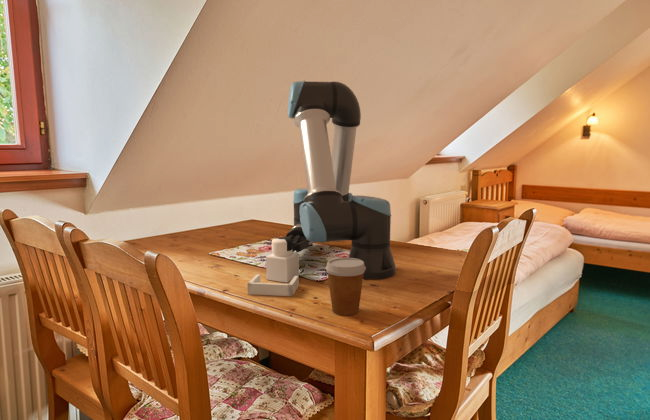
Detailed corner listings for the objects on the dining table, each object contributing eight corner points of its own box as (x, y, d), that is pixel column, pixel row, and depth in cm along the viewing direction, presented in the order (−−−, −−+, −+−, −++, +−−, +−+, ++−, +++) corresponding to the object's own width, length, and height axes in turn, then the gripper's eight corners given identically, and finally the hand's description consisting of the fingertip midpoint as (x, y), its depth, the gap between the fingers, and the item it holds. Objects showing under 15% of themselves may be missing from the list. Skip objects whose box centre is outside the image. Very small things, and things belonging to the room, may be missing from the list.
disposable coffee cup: (348, 321, 110) (348, 270, 108) (317, 311, 116) (317, 262, 114) (373, 310, 117) (374, 261, 115) (342, 301, 123) (343, 255, 121)
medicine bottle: (279, 273, 147) (278, 234, 146) (299, 276, 144) (298, 237, 142) (265, 280, 141) (264, 239, 139) (287, 283, 138) (286, 241, 136)
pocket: (298, 286, 135) (298, 275, 135) (292, 296, 127) (291, 285, 126) (257, 284, 137) (256, 274, 137) (247, 294, 129) (247, 283, 128)
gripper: (317, 248, 169) (303, 266, 146) (280, 247, 171) (261, 264, 148) (317, 226, 168) (303, 242, 145) (280, 226, 170) (261, 240, 147)
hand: (282, 253), depth 146 cm, fingers closed
